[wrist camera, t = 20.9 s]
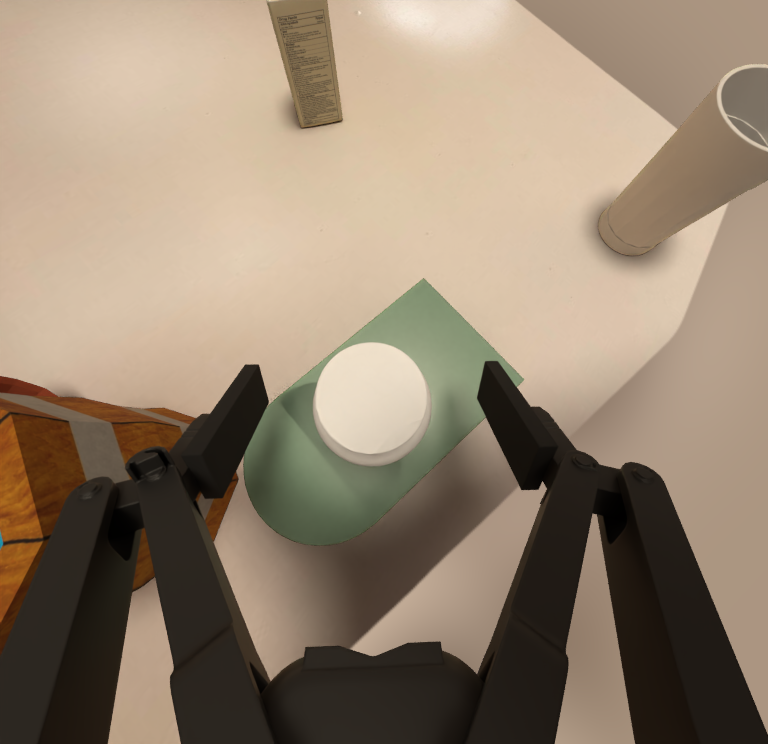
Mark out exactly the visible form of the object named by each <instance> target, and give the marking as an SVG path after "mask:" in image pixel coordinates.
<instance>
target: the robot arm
mask: <svg viewBox="0 0 768 744" xmlns="http://www.w3.org/2000/svg"><path fill="white" fill-rule="evenodd" d="M477 400H478V402H479V404H480V406H481V408H482V410H483V412H484V414H485V416H486V418H487V420H488V422H489V424H490V426H491V428H492V431H493V433H494V435H495V437H496V439H497V441H498V443H499V445H500V447H501V449H502V451H503V453H504V455H505V457H506V459H507V461H508V463H509V465H510V467H511V470H512V472H513V474H514V476H515V478H516V480H517V482H518V484H519V486H520V488H521V490H538V489H539V487H540V485H541V483H542V481H543V482H544V484H545V486H546V488H547V490H546V492H545V494H544V496H543V498H542V501H541V503H540V504H541V506H540V508H539V511H538V514H537V517H536V519H535V522H534V525H533V527H532V530H531V533H530V536H529V538H528V541H527V544H526V546H525V549H524V552H523V555H522V558H521V560H520V563H519V566H518V568H517V571H516V574H515V577H514V579H513V582H512V585H511V587H510V591H509V593H508V596H507V598H506V601H505V604H504V607H503V609H502V612H501V615H500V618H499V620H498V623H497V626H496V628H495V631H494V634H493V637H492V640H491V642H490V645H489V647H488V649H487V651H486V654H485V656H484V658H483V661H482V663H481V666H480V668H479V671H478V674H476V673H475V672H474V671H473V670H472V669H471V668H470V667H469V666H468V665H467V664H465V663H464V662H463V661H461V660H460V659H459V658H457V657H455V656H453V655H451V654H449V653H447V652H444V651H442V648H441V642H420V643H419V642H418V643H407V644H404V645H402V646H399V647H397V648H394V649H392V650H389V651H387V652H385V653H382V654H380V655H377V656H369V655H366V654H363V653H360V652H356V651H353V650H350V649H347V648H344V647H341V646H323V647H305V654H304V657H303V658H300V659H298V660H296V661H295V662H293V663H291V664H290V665H288V666H287V667H286V668H284V669H283V670H282V671H281V672H280V673H279V674H278V675H276V676H275V677H274V678H273V680H272V681H271V682H270V679H269V677H268V675H267V672H266V670H265V668H264V666H263V664H262V662H261V660H260V658H259V656H258V654H257V651H256V649H255V646H254V644H253V641H252V639H251V636H250V634H249V631H248V629H247V626H246V624H245V621H244V619H243V616H242V614H241V611H240V608H239V606H238V603H237V601H236V598H235V596H234V593H233V591H232V588H231V586H230V583H229V581H228V578H227V576H226V573H225V571H224V568H223V565H222V563H221V560H220V558H219V555H218V553H217V550H216V548H215V545H214V543H213V540H212V538H211V535H210V533H209V530H208V528H207V525H206V522H205V520H204V517H203V515H202V512H201V510H200V507H199V505H198V503H197V501H196V497H197V496H198V494H199V492H200V491H201V493H202V495H203V496H204V498H205V499H221V498H223V497H224V495H225V493H226V491H227V489H228V487H229V485H230V482H231V480H232V478H233V476H234V474H235V472H236V470H237V468H238V466H239V464H240V462H241V459H242V457H243V455H244V453H245V451H246V449H247V447H248V445H249V443H250V441H251V439H252V437H253V434H254V432H255V430H256V428H257V426H258V424H259V422H260V420H261V418H262V416H263V414H264V411H265V409H266V407H267V405H268V403H269V400H268V397H267V393H266V389H265V386H264V382H263V378H262V375H261V371H260V367H259V365H245V366H244V367H243V369H242V370H241V371H240V373H239V374H238V376H237V377H236V378H235V380H234V381H233V383H232V384H231V385H230V387H229V388H228V390H227V391H226V392H225V394H224V395H223V397H222V398H221V399H220V401H219V402H218V404H217V405H216V406H215V408H214V409H213V411H212V412H211V414H202V415H200V416H199V417H197V418H196V419H195V420H193V421H192V422H191V424H190V425H189V426H188V428H187V429H186V431H185V432H184V433H183V434H182V436H181V438H179V439H178V441H177V442H176V443H175V445H174V446H173V447H172V449H171V450H170V451H169V453H168V451H167V450H166V449H165V447H161V446H154V447H149V448H146V449H143V450H142V451H140V452H138V453H136V454H135V455H134V456H132V457H131V458H130V459H129V460H128V462H127V463H126V465H125V470H126V471H127V473H128V474H129V475H130V477H131V478H132V479H130V480H126V481H122V482H118V483H114V482H113V480H112V479H110V478H109V477H104V476H102V477H97V478H93V479H91V480H88V481H86V482H84V483H82V484H81V485H79V486H78V487H76V488H75V489H74V490H73V491H72V492H71V493H70V494H69V495H68V497H67V498H66V500H65V503H64V505H63V507H62V510H61V512H60V515H59V517H58V519H57V522H56V524H55V526H54V529H53V531H52V534H51V536H50V538H49V541H48V543H47V546H46V548H45V550H44V553H43V555H42V558H41V560H40V562H39V565H38V567H37V569H36V572H35V574H34V577H33V579H32V581H31V584H30V586H29V589H28V591H27V593H26V596H25V598H24V600H23V603H22V605H21V608H20V610H19V612H18V615H17V617H16V620H15V622H14V624H13V627H12V629H11V631H10V634H9V636H8V639H7V641H6V643H5V646H4V648H3V651H2V653H1V655H0V744H108V739H109V732H110V726H111V720H112V714H113V708H114V701H115V695H116V689H117V683H118V676H119V670H120V664H121V658H122V652H123V645H124V639H125V633H126V627H127V621H128V614H129V608H130V602H131V596H132V590H133V583H134V577H135V571H136V565H137V559H138V552H139V546H140V540H141V534H142V529H143V528H145V531H146V536H147V541H148V545H149V550H150V555H151V560H152V564H153V569H154V574H155V578H156V583H157V588H158V593H159V597H160V602H161V607H162V611H163V616H164V621H165V626H166V630H167V635H168V640H169V644H170V649H171V654H172V659H173V664H174V671H173V672H172V674H171V676H170V688H171V695H172V700H173V705H174V710H175V715H176V720H177V725H178V731H179V736H180V741H181V744H555V738H556V733H557V727H558V722H559V717H560V712H561V706H562V701H563V695H564V690H565V684H566V679H567V673H568V657H567V655H566V644H567V638H568V633H569V629H570V624H571V619H572V614H573V609H574V603H575V598H576V593H577V588H578V583H579V578H580V573H581V568H582V563H583V558H584V553H585V548H586V543H587V538H588V533H589V528H590V523H591V518H592V513H593V514H597V517H598V523H599V529H600V534H601V541H602V547H603V553H604V559H605V565H606V571H607V577H608V584H609V589H610V595H611V602H612V607H613V614H614V620H615V625H616V632H617V638H618V644H619V649H620V656H621V661H622V668H623V673H624V680H625V686H626V692H627V698H628V704H629V710H630V716H631V722H632V728H633V734H634V740H635V744H768V734H767V732H766V729H765V727H764V724H763V722H762V720H761V717H760V715H759V712H758V710H757V707H756V705H755V703H754V700H753V698H752V695H751V693H750V690H749V688H748V685H747V683H746V681H745V678H744V676H743V673H742V671H741V668H740V666H739V664H738V661H737V659H736V656H735V654H734V651H733V649H732V646H731V644H730V642H729V639H728V637H727V634H726V632H725V629H724V627H723V624H722V622H721V619H720V617H719V615H718V612H717V610H716V607H715V605H714V602H713V600H712V598H711V595H710V593H709V590H708V588H707V585H706V583H705V580H704V578H703V576H702V573H701V571H700V568H699V566H698V563H697V561H696V558H695V556H694V554H693V551H692V549H691V546H690V544H689V542H688V539H687V537H686V534H685V532H684V529H683V527H682V524H681V522H680V519H679V517H678V515H677V512H676V510H675V507H674V505H673V502H672V500H671V497H670V495H669V493H668V490H667V488H666V485H665V483H664V481H663V480H662V478H661V477H660V476H659V475H658V474H657V473H656V472H655V471H654V470H652V469H650V468H649V467H647V466H644V465H642V464H639V463H634V462H629V463H625V464H624V465H623V466H622V468H621V469H616V468H612V467H607V466H603V465H599V464H598V462H597V461H596V460H595V459H594V458H593V457H592V456H590V455H588V454H586V453H584V452H581V451H578V450H576V448H575V447H574V446H573V445H572V443H571V442H570V441H569V439H568V438H567V437H566V435H565V434H564V433H563V431H562V430H561V429H559V426H558V425H557V424H556V422H554V420H553V418H552V417H551V416H550V415H549V413H547V412H546V411H545V410H543V409H542V408H541V407H530V405H529V404H528V403H527V401H526V400H525V398H524V397H523V395H522V394H521V393H520V391H519V390H518V388H517V387H516V386H515V384H514V383H513V381H512V380H511V379H510V377H509V376H508V374H507V373H506V372H505V370H504V369H503V367H502V366H501V365H500V363H499V362H498V361H485V363H484V368H483V372H482V377H481V381H480V386H479V390H478V395H477Z"/></svg>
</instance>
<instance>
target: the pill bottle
mask: <svg viewBox="0 0 768 744" xmlns="http://www.w3.org/2000/svg"><path fill="white" fill-rule="evenodd" d="M431 409H432V403H431V394H430V390H429V387H428V384H427V382H426V380H425V378H424V376H423V374H422V373H421V371H420V369H419V368H418V366H417V365H416V364H415V362H414V361H413V360H412V359H411V358H410V357H409V356H408V355H406V354H405V353H404V352H402V351H401V350H399V349H397V348H395V347H393V346H390V345H387V344H383V343H375V342H368V343H360V344H356V345H353V346H350V347H348V348H346V349H344V350H342V351H341V352H339V353H338V354H337V355H335V356H334V357H333V358H332V359H331V360H330V361H329V362H328V363H327V365H326V366H325V368H324V369H323V371H322V373H321V375H320V377H319V379H318V382H317V386H316V389H315V393H314V397H313V417H314V422H315V425H316V428H317V430H318V433H319V435H320V437H321V438H322V440H323V442H324V443H325V444H326V445H327V446H328V448H329V449H330V450H332V451H333V452H334V453H335V454H336V455H338V456H339V457H341V458H342V459H344V460H346V461H348V462H351V463H353V464H357V465H361V466H370V467H373V466H383V465H387V464H390V463H393V462H395V461H398V460H400V459H401V458H403V457H405V456H406V455H407V454H409V453H410V452H411V451H412V450H413V449H414V448H415V447H416V446H417V445H418V444H419V442H420V441H421V439H422V438H423V436H424V434H425V432H426V430H427V428H428V425H429V422H430V417H431Z"/></svg>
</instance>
